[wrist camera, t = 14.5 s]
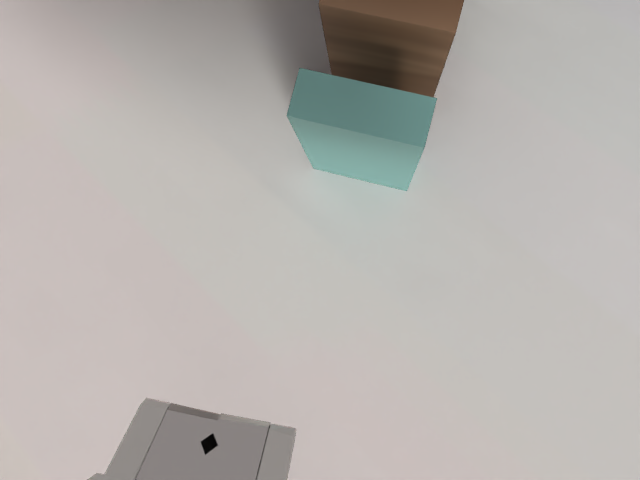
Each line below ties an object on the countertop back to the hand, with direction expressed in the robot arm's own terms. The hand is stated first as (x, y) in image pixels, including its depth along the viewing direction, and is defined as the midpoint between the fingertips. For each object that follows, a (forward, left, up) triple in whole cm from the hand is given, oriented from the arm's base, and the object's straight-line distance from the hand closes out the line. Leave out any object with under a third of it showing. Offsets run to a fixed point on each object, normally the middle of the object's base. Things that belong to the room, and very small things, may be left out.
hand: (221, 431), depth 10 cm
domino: (0, +14, -17) cm, 22 cm away
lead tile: (0, +9, -17) cm, 19 cm away
